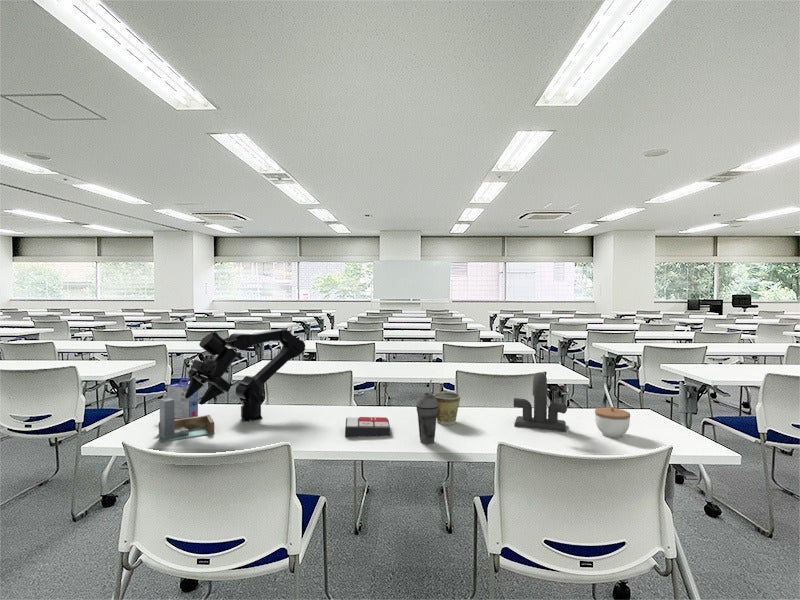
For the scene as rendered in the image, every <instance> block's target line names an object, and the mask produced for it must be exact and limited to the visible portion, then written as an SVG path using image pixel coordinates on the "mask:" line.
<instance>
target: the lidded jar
mask: <svg viewBox="0 0 800 600" xmlns="http://www.w3.org/2000/svg"><path fill="white" fill-rule="evenodd" d="M594 417H595V419H594V421H595V425H596V427H597V429H598V430H599V431H600V432H601V434H602V435H603V436H605V437H609V438H617V439H618V438H622V437H623V435H625V434H626V433H627V431H628V430H629V428H630V422H631V413H630V412H629V411H627V410H624V409H621V408H615V407H614V406H610V407H598V408H595V409H594Z"/></svg>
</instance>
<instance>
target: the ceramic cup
mask: <svg viewBox="0 0 800 600" xmlns="http://www.w3.org/2000/svg"><path fill="white" fill-rule="evenodd" d="M432 395H434V396H435V397H436V399H437V401H438V406H439V407H438V412H437V418H436V423H438V424H440V425H442V424H443V425H444V426H451V425H455V423H456V422H457V416H458V412H459V411H458V410H459V407H460V400H461V395H460V394H459V393H456V392H452V391H448V392H447V391H442V392H436V393H432ZM450 424H451V425H450Z"/></svg>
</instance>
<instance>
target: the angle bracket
mask: <svg viewBox="0 0 800 600" xmlns="http://www.w3.org/2000/svg"><path fill="white" fill-rule="evenodd" d="M175 420H176V418H174V399H171V398H167V397H166V398H160V399H159V422H160V437H159V439H160V438H162V439H164V440H167V439H171V438H176V437H180V436H184V435H188V434H189V430H188V429H186V428H184V427H183V428H178V429H175Z"/></svg>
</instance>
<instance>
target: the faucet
mask: <svg viewBox="0 0 800 600" xmlns="http://www.w3.org/2000/svg"><path fill="white" fill-rule="evenodd" d="M547 377H548V376H547V375H546V374H545V373H544V372H536V373H535V374H534V375H533V377H532V396H533V406H532V403H531V402H530V401H529V400H528V399H525V398H519V397H514V398H513V408H521V409H522V416H521V415H518V416H516V417H515V420H514V423H513V424H514V427H516V428H524V429H533V430H542V431H543V430H544V431H552V432H554V431H555V432H563V433H566V430H567V426H566V423H567V422H566V421H565V420H563V419H559V417H558V416H559V415H558V413H560V414H566V413H567V410H568V405H567V404H565V403H561V402H557V401H555V402H554V401H553V402H551V403H550V404H549V405H548V379H547ZM547 407H548V408H547Z"/></svg>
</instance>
